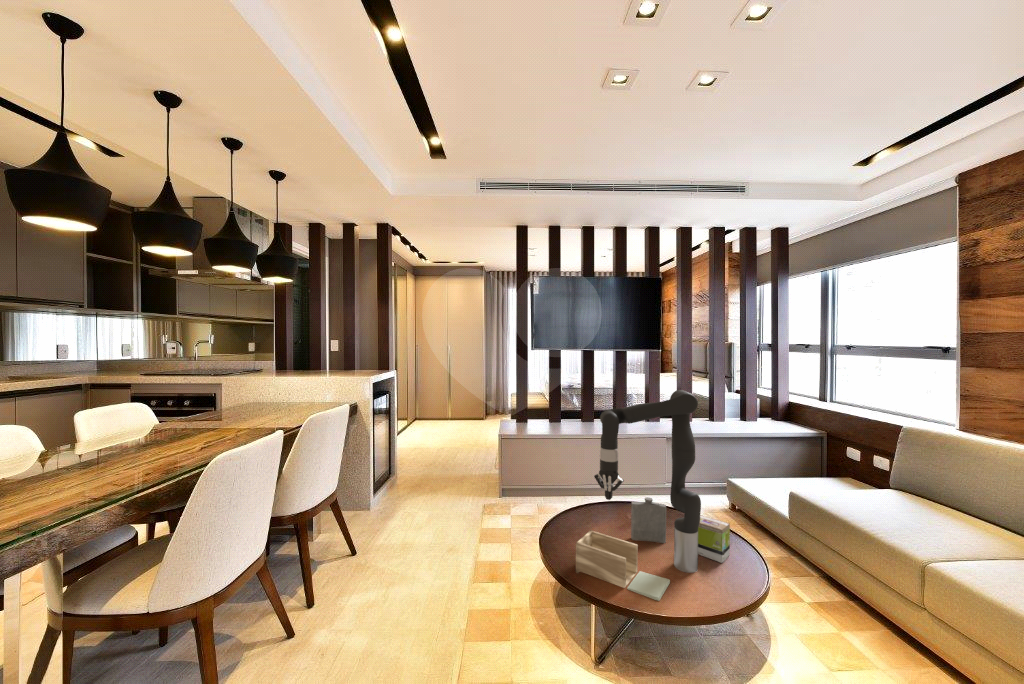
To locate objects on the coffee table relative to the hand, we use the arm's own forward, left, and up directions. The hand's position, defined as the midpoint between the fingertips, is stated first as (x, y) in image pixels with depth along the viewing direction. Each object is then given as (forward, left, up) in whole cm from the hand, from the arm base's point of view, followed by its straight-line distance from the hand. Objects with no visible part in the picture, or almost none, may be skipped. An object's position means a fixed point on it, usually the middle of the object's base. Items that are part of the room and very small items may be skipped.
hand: (608, 499), depth 175 cm
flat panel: (+5, +13, -28) cm, 31 cm away
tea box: (-38, +32, -29) cm, 58 cm away
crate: (+5, +2, -29) cm, 30 cm away
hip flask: (-34, +6, -29) cm, 45 cm away
